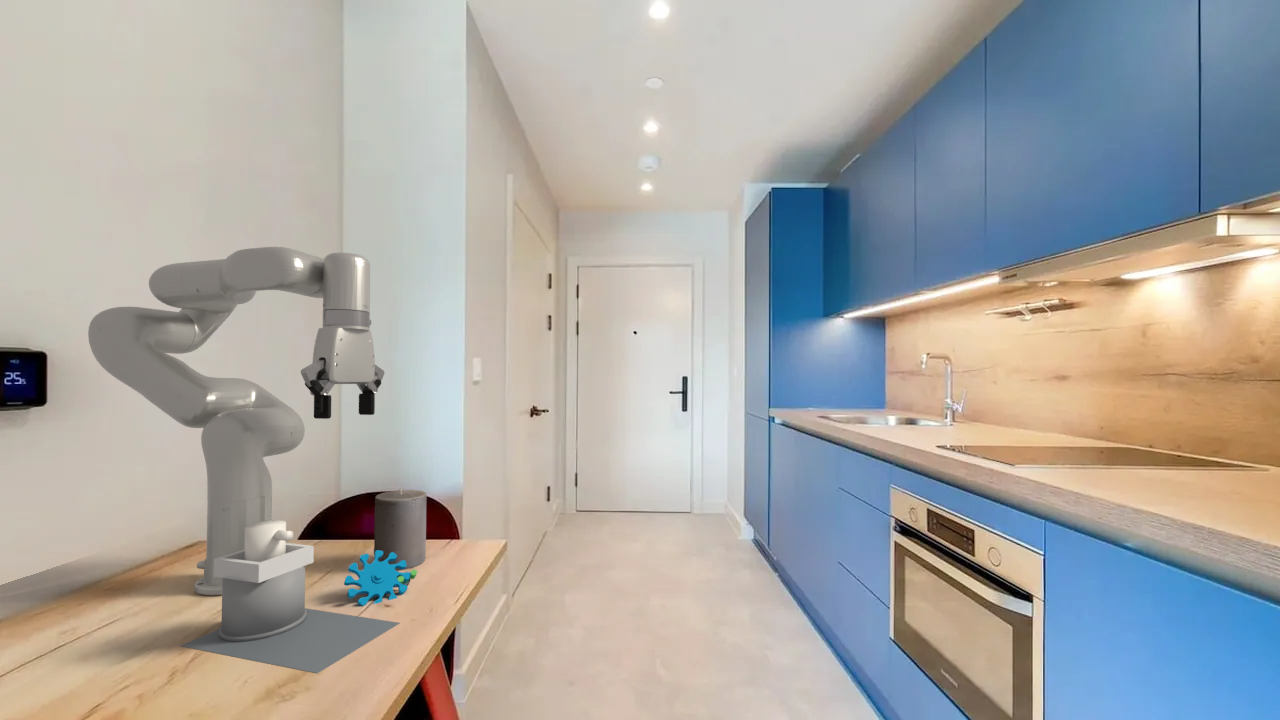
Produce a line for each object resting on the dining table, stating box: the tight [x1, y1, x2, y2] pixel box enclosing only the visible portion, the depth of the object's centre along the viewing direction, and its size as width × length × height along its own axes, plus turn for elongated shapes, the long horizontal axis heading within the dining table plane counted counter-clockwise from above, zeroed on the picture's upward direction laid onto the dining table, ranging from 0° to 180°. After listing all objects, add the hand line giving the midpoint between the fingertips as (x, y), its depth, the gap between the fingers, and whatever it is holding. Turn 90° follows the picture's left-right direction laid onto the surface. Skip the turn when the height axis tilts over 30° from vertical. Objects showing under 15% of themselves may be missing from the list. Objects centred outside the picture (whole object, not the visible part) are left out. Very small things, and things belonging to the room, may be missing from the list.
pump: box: [244, 519, 294, 562], centre depth 79 cm, size 7×5×6 cm
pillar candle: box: [373, 487, 428, 571], centre depth 108 cm, size 10×10×15 cm
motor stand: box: [179, 542, 401, 674], centre depth 76 cm, size 24×14×12 cm, turn 73°
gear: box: [343, 550, 418, 607], centre depth 90 cm, size 11×6×10 cm
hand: (345, 416), depth 97 cm, fingers open, 9 cm apart
